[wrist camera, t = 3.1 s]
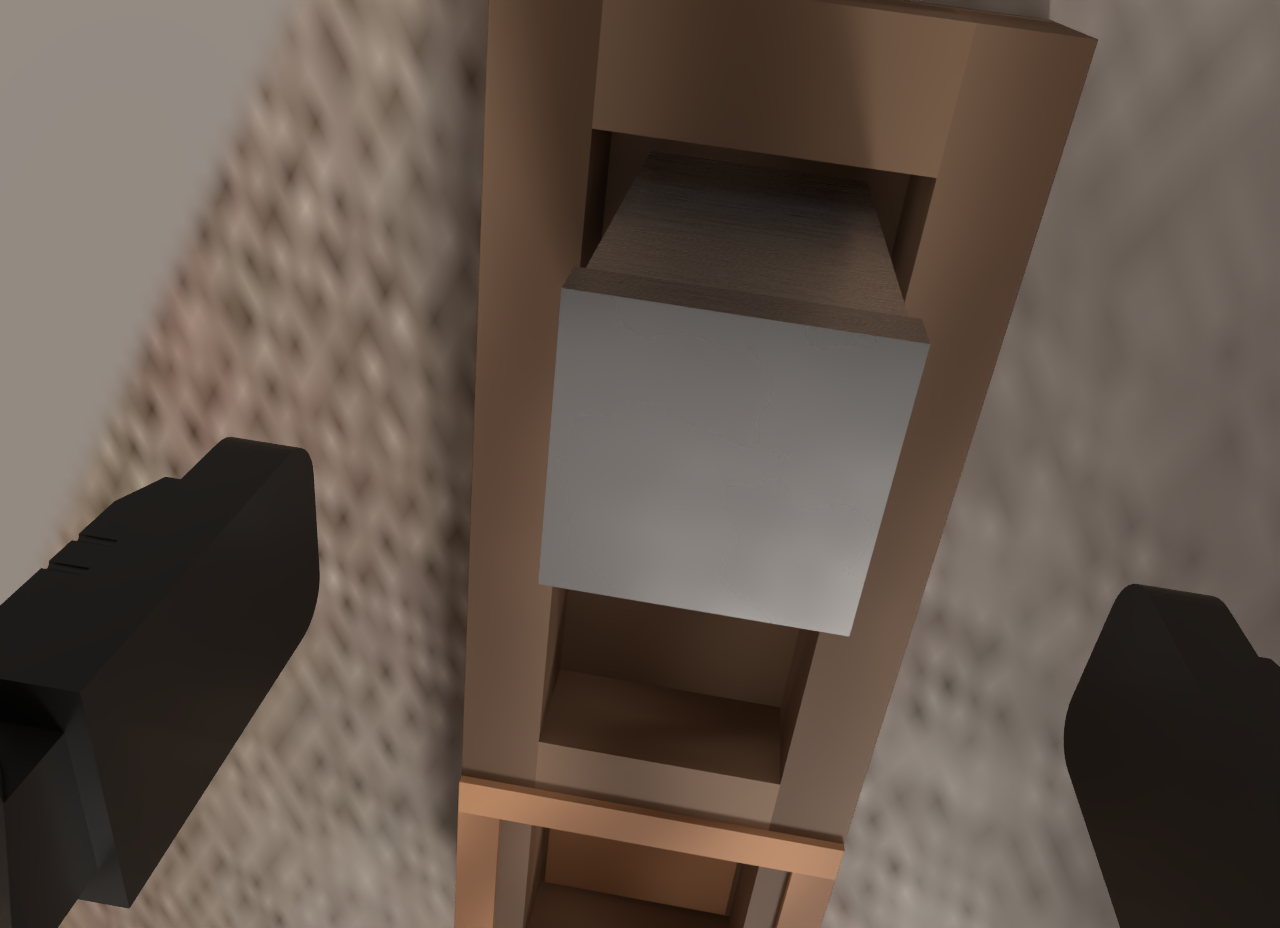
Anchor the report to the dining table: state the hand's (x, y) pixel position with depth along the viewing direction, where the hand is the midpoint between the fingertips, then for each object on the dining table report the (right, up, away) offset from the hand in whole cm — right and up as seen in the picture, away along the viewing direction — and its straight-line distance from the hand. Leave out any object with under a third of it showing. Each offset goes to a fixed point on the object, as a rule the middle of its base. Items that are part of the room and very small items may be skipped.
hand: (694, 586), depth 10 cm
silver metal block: (+1, +5, +9) cm, 11 cm away
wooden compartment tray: (+1, -2, +14) cm, 14 cm away
